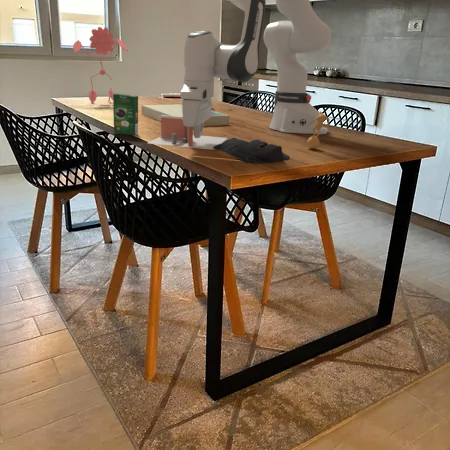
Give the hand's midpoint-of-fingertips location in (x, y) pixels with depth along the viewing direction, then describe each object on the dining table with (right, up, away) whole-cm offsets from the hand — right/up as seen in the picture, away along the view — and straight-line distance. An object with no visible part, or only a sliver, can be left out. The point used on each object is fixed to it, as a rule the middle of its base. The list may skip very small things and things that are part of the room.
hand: (198, 137), depth 140 cm
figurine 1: (-51, +33, +86) cm, 105 cm away
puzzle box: (-9, +17, +52) cm, 55 cm away
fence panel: (-3, -1, +2) cm, 4 cm away
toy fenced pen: (-3, 0, +7) cm, 8 cm away
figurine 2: (+37, -3, +5) cm, 37 cm away
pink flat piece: (-7, +1, +8) cm, 11 cm away
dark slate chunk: (+15, -7, -5) cm, 18 cm away
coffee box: (-25, +3, +13) cm, 28 cm away
